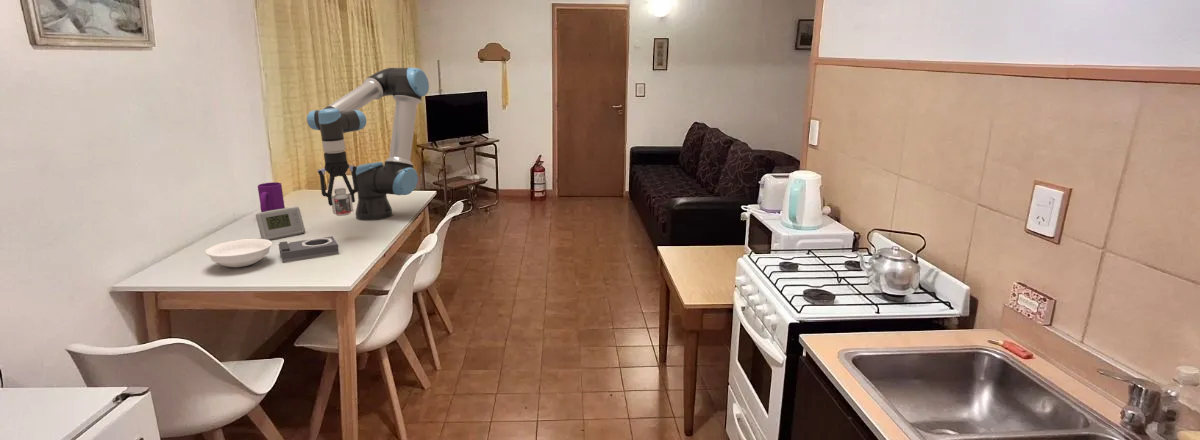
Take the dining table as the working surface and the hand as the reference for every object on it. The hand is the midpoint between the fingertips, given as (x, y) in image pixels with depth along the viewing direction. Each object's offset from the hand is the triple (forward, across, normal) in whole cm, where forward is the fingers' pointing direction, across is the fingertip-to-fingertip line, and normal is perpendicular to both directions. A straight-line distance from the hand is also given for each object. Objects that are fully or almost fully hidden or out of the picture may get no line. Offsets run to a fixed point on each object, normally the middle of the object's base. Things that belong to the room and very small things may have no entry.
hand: (343, 212), depth 241 cm
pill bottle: (+1, 0, 0) cm, 1 cm away
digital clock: (+11, +21, -17) cm, 29 cm away
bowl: (+10, +36, +14) cm, 39 cm away
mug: (+11, +23, -47) cm, 54 cm away
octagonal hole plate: (+10, +15, +13) cm, 22 cm away
